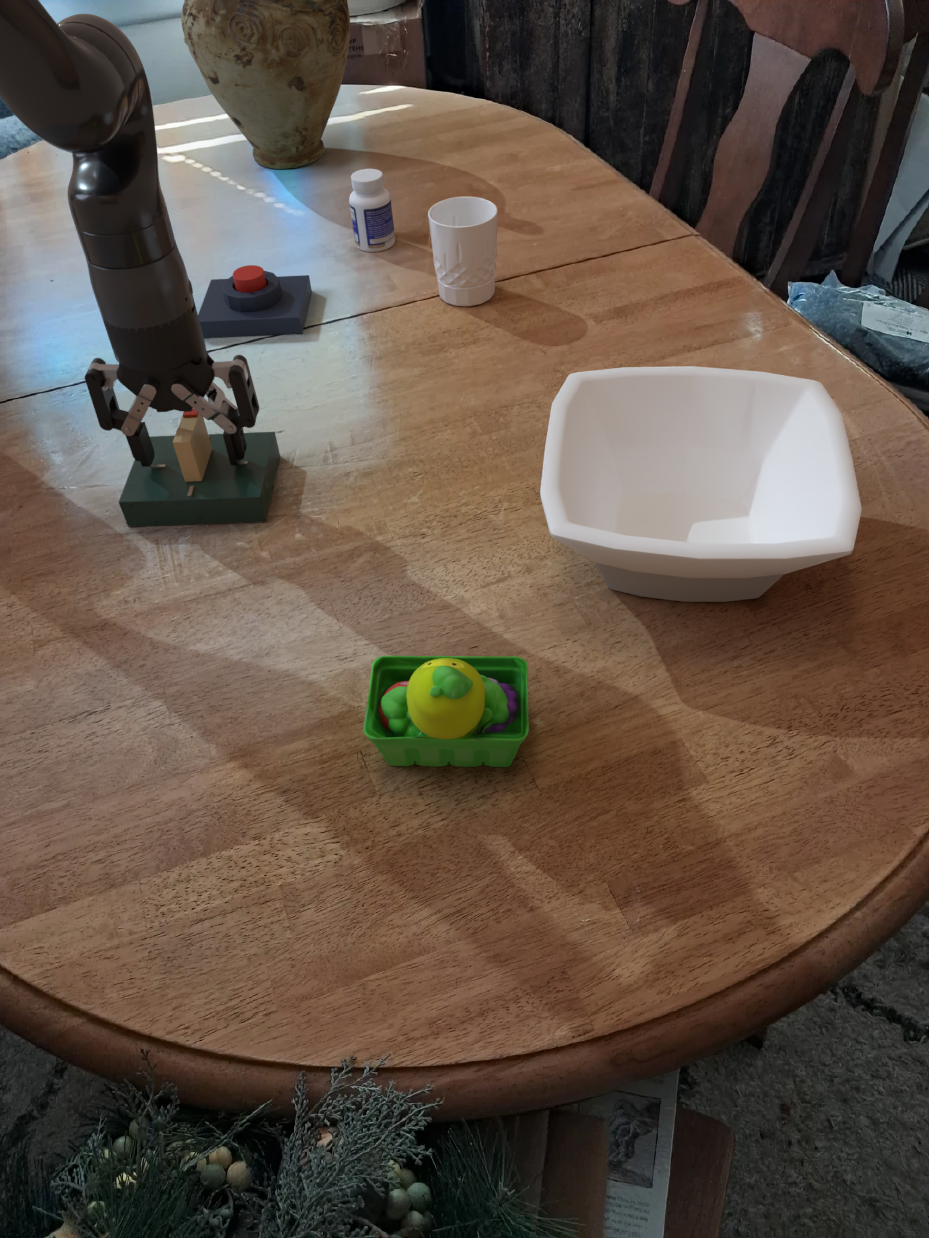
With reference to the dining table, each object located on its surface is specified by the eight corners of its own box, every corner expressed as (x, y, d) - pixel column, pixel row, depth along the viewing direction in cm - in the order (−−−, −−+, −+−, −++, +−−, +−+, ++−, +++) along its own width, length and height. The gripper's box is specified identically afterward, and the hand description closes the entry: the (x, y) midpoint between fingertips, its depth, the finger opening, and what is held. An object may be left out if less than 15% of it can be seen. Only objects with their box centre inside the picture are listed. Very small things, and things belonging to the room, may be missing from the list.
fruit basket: (528, 698, 76) (528, 594, 68) (528, 796, 70) (528, 695, 61) (380, 698, 76) (362, 595, 68) (368, 795, 70) (347, 695, 62)
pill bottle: (402, 238, 130) (395, 169, 124) (383, 256, 127) (375, 186, 120) (367, 232, 132) (358, 164, 125) (347, 249, 129) (338, 180, 122)
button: (233, 295, 114) (230, 280, 113) (238, 279, 117) (235, 265, 115) (264, 293, 114) (261, 279, 113) (268, 278, 117) (265, 264, 115)
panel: (127, 527, 92) (117, 500, 90) (151, 461, 99) (142, 435, 97) (266, 522, 92) (259, 495, 89) (280, 456, 99) (274, 430, 96)
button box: (199, 339, 115) (191, 307, 112) (215, 296, 122) (207, 265, 119) (302, 334, 114) (296, 303, 111) (311, 291, 121) (306, 261, 118)
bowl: (531, 640, 80) (531, 546, 72) (554, 451, 97) (556, 360, 89) (843, 662, 77) (876, 566, 69) (810, 463, 94) (834, 368, 86)
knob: (202, 481, 91) (189, 439, 88) (185, 482, 91) (171, 440, 88) (212, 448, 95) (200, 407, 91) (196, 449, 95) (183, 407, 91)
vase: (273, 200, 137) (217, -59, 118) (190, 172, 151) (126, -64, 132) (402, 153, 148) (369, -92, 128) (312, 131, 162) (271, -93, 142)
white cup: (511, 286, 120) (510, 205, 112) (475, 316, 115) (472, 232, 108) (458, 271, 123) (453, 191, 116) (421, 299, 119) (413, 217, 111)
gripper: (46, 327, 79) (107, 487, 91) (224, 322, 78) (262, 485, 90) (73, 281, 84) (128, 438, 96) (240, 276, 83) (274, 435, 95)
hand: (193, 460), depth 93 cm, fingers open, 8 cm apart
